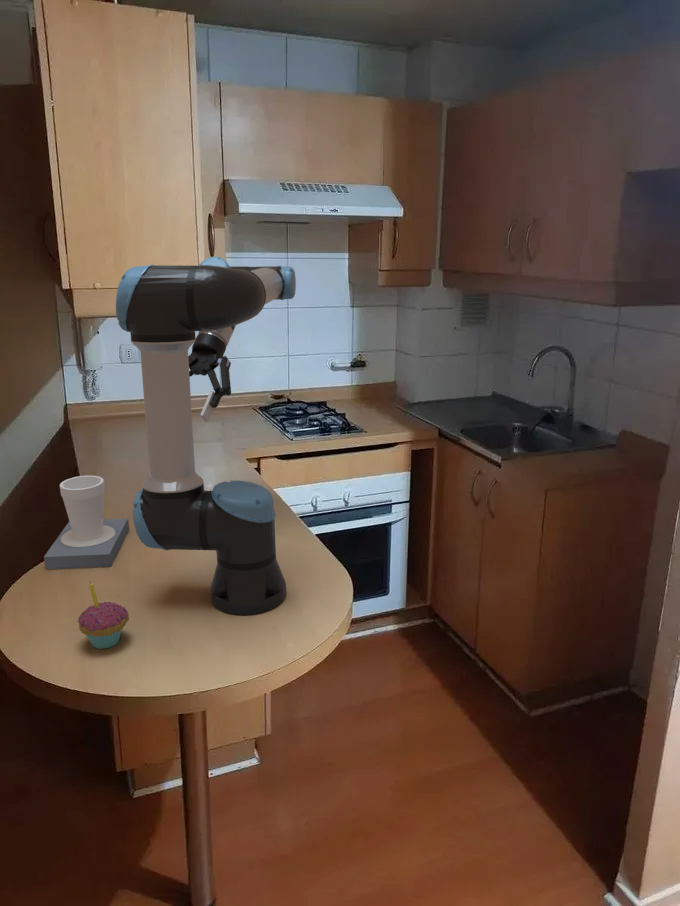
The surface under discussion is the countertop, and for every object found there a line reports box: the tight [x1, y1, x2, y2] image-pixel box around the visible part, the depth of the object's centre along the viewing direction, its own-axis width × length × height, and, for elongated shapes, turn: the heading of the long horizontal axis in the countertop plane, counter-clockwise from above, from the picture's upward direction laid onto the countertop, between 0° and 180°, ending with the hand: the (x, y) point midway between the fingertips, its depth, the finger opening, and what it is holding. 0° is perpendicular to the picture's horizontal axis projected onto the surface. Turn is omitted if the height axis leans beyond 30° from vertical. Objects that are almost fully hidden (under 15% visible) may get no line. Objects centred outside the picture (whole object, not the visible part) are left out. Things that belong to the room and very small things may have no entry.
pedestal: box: [43, 517, 130, 570], centre depth 164 cm, size 20×14×3 cm
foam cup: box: [59, 475, 106, 541], centre depth 162 cm, size 10×9×13 cm
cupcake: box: [77, 579, 130, 650], centre depth 126 cm, size 9×8×12 cm
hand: (179, 415), depth 162 cm, fingers open, 13 cm apart
